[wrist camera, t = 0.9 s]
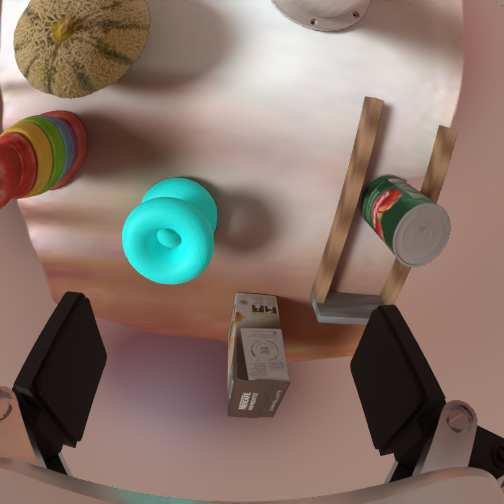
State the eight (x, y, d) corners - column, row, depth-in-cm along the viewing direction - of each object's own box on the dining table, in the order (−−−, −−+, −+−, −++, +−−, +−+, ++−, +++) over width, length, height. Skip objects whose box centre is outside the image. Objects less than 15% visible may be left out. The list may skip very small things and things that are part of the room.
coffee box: (234, 290, 46) (235, 377, 32) (276, 295, 46) (292, 380, 32) (227, 334, 50) (226, 417, 36) (265, 337, 51) (274, 419, 37)
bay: (365, 96, 32) (386, 99, 27) (445, 127, 34) (471, 136, 29) (309, 296, 47) (317, 322, 42) (382, 302, 48) (396, 325, 43)
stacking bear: (21, 128, 31) (-69, 165, 16) (73, 92, 30) (-22, 108, 14) (49, 193, 36) (-29, 256, 21) (102, 164, 35) (23, 221, 20)
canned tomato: (409, 219, 41) (448, 257, 32) (362, 232, 42) (394, 275, 32) (406, 168, 37) (451, 197, 28) (355, 180, 38) (392, 212, 28)
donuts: (117, 278, 32) (122, 194, 27) (139, 237, 41) (148, 168, 36) (203, 297, 34) (223, 215, 29) (209, 252, 42) (226, 184, 38)
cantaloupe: (62, 3, 23) (-8, -18, 10) (168, -20, 24) (131, -72, 11) (58, 103, 30) (-18, 121, 17) (162, 88, 31) (115, 88, 18)
